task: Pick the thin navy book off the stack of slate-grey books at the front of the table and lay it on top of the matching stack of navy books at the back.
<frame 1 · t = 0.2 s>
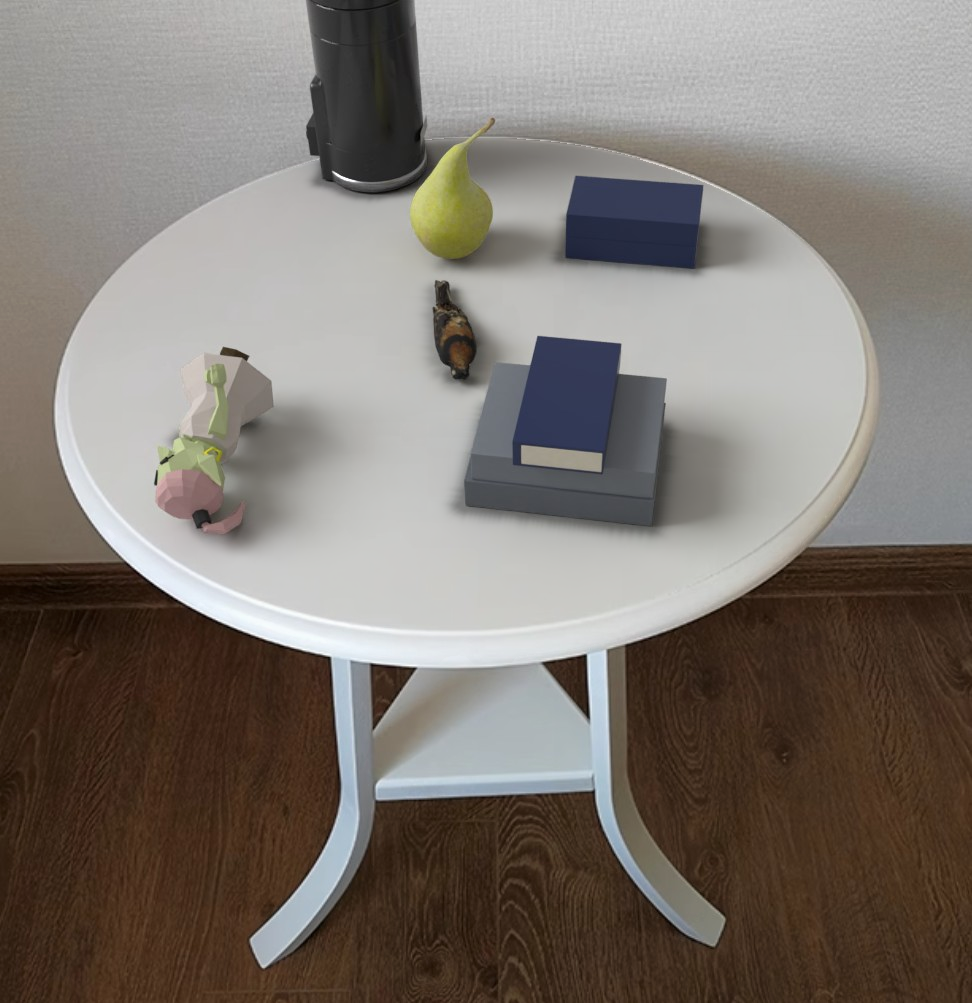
bird model: (452, 339, 100), on the table
navy book: (568, 414, 86), point 5 cm above the table, touching grey stack
navy stack: (632, 243, 108), on the table
grey stack: (566, 465, 90), on the table
fruit: (456, 251, 108), on the table
figurine: (237, 363, 93), point 4 cm above the table
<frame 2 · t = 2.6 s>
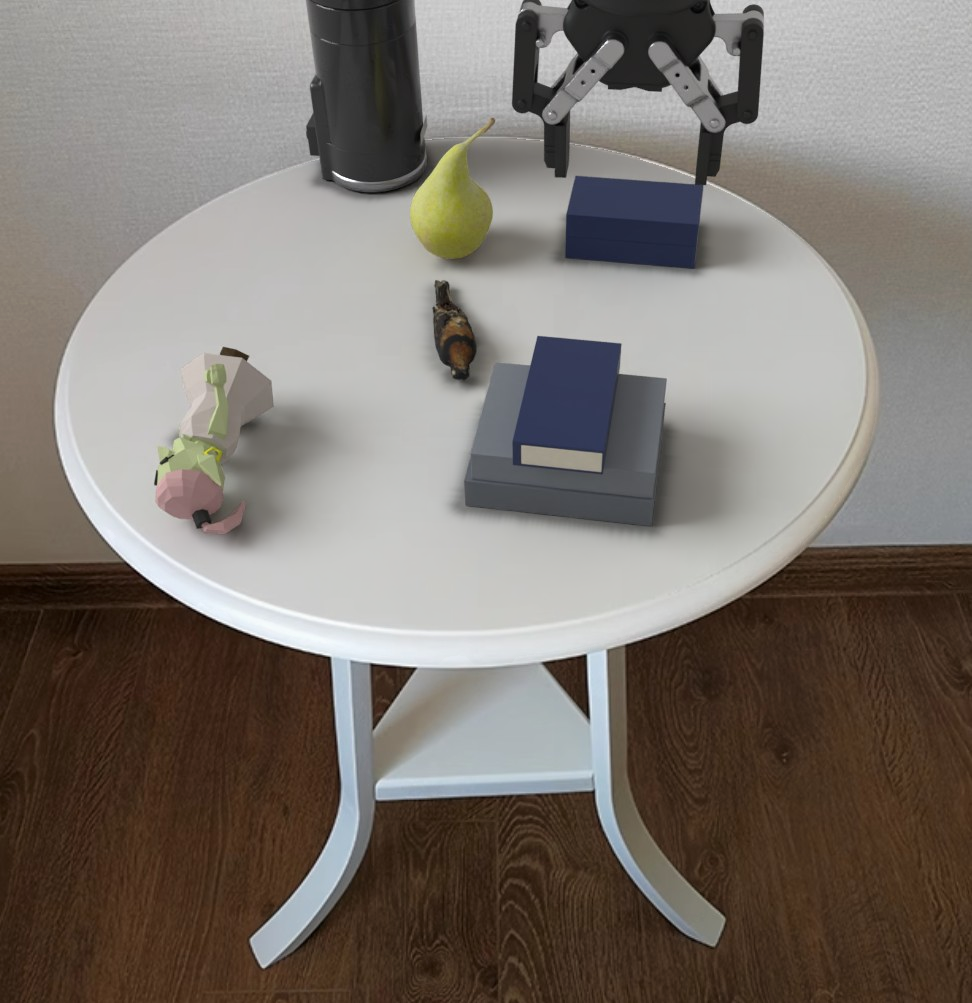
hand: (630, 174, 77), 21 cm above the table, tool pointing down, fingers open, 8 cm apart
nothing on the table moved.
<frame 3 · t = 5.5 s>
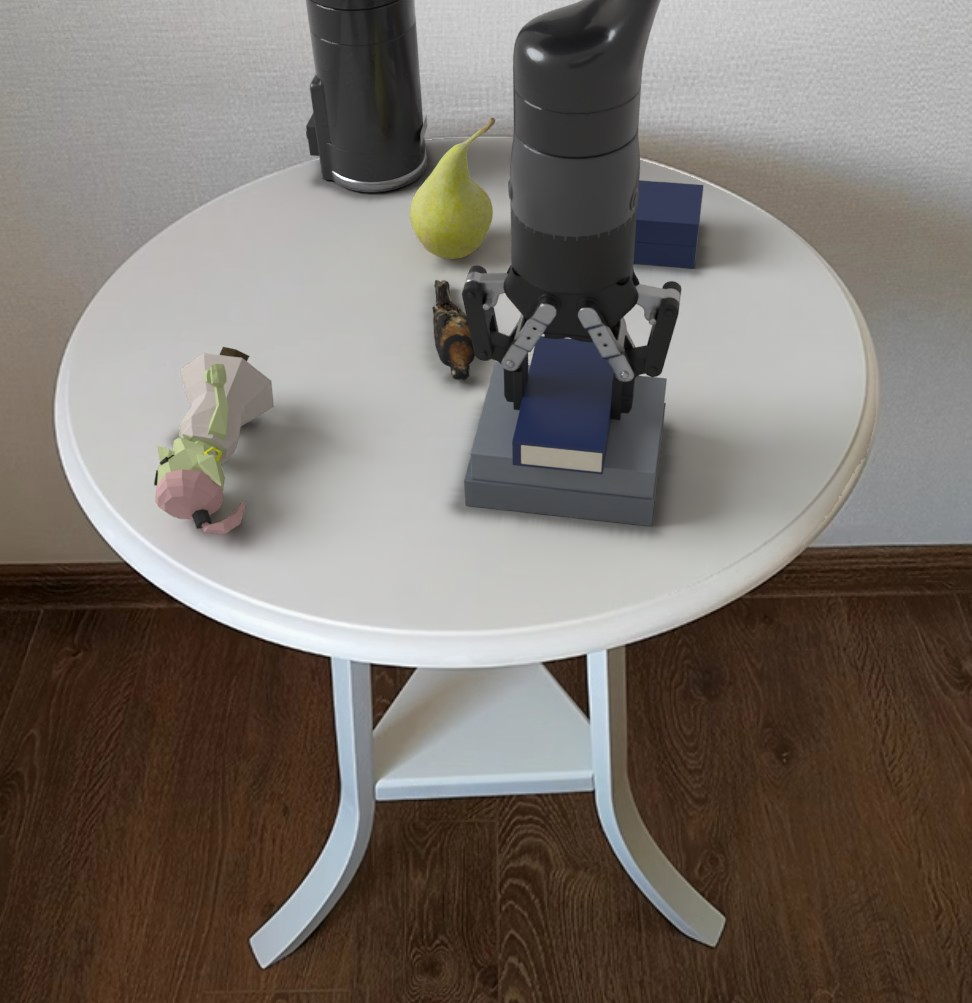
hand: (568, 406, 85), 6 cm above the table, tool pointing down, fingers closed on navy book, 6 cm apart
navy book: (568, 414, 86), point 5 cm above the table, touching grey stack, gripper
everything else where it was.
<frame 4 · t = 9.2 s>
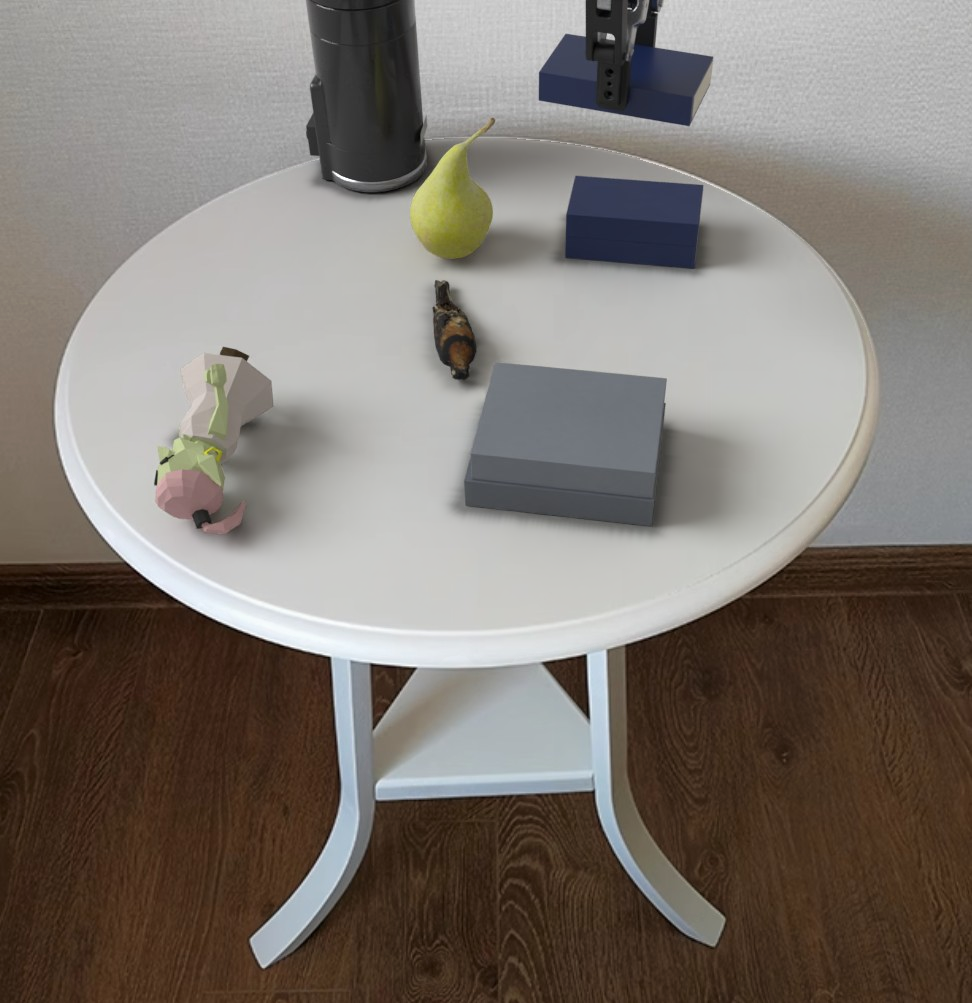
hand: (625, 83, 88), 19 cm above the table, tool pointing down, fingers closed on navy book, 6 cm apart
navy book: (624, 92, 89), point 19 cm above the table, touching gripper
everything else where it was.
when the fingers open (5 cm above the table, at t = 13.0 s): navy book stays where it is, resting on navy stack.
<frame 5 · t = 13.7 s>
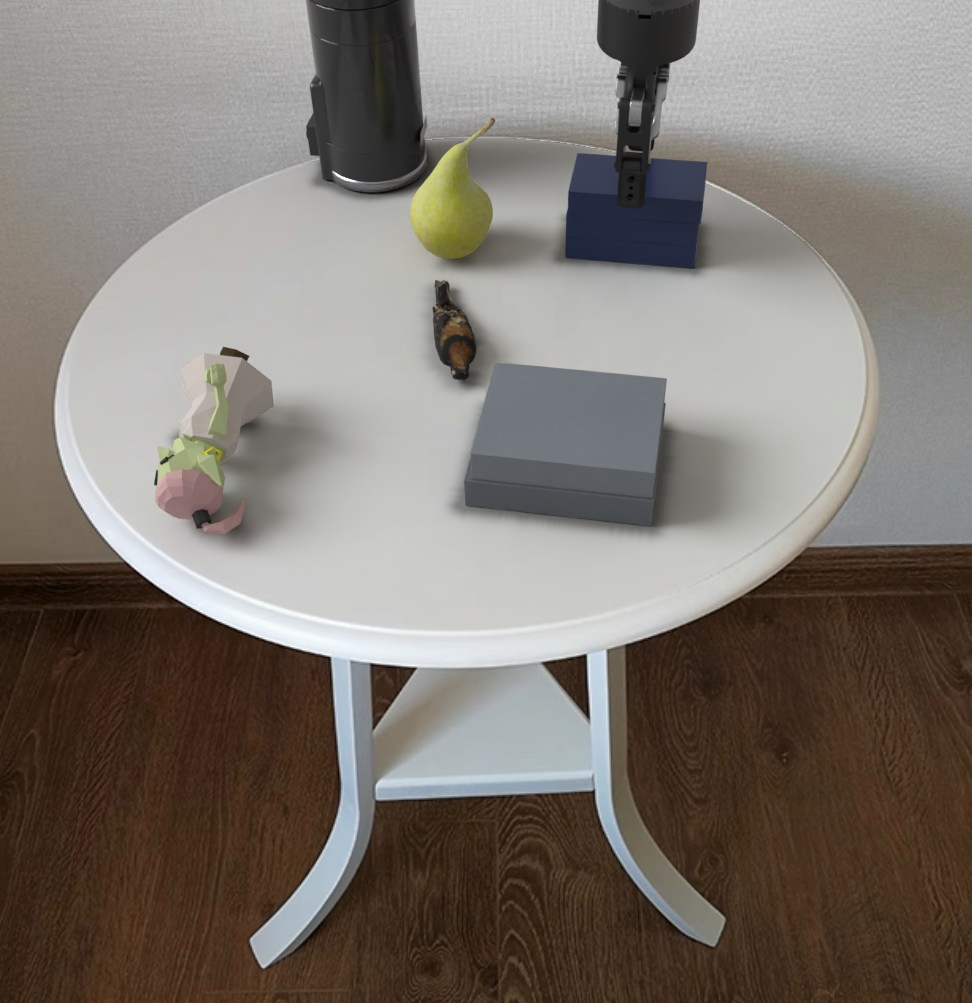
hand: (635, 176, 103), 7 cm above the table, tool pointing down, fingers open, 8 cm apart
navy book: (637, 199, 105), point 4 cm above the table, touching navy stack
everything else where it was.
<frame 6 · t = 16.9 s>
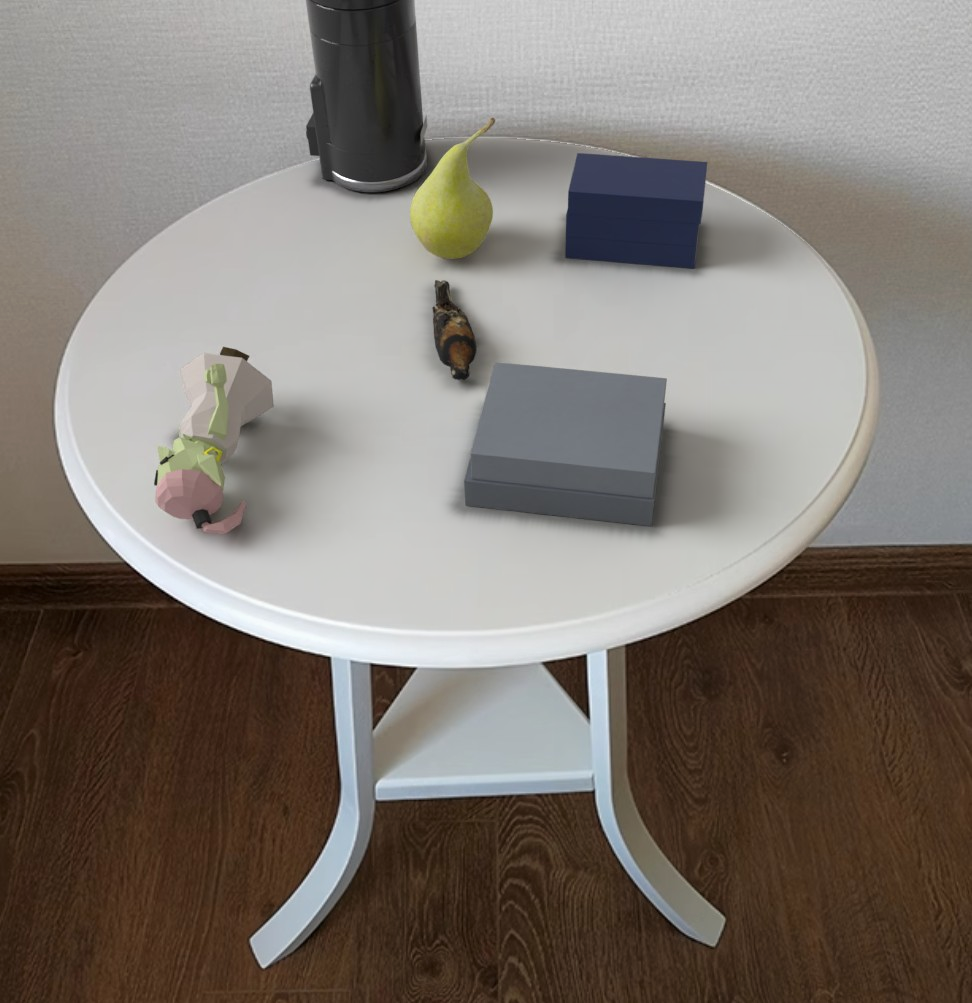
nothing on the table moved.
at the end: navy book 0.1 cm off-centre on the navy stack, point 4.4 cm above the navy stack's base; navy book tilted 0° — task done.
